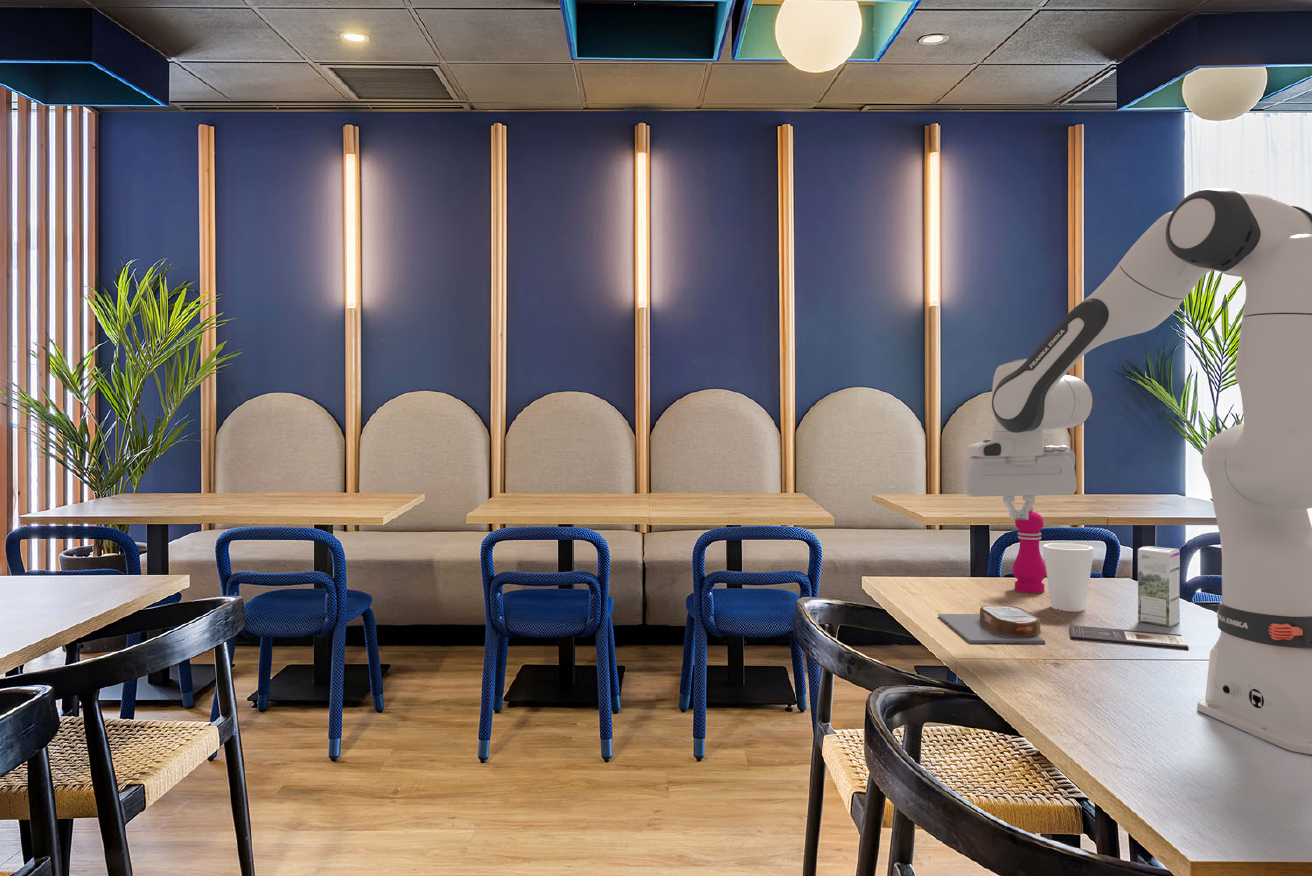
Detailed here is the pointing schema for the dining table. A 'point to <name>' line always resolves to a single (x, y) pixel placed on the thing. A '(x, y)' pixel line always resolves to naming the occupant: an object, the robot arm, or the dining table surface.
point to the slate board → (983, 630)
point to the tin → (1010, 620)
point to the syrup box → (1158, 585)
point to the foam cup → (1068, 574)
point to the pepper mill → (1029, 555)
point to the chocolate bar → (1128, 637)
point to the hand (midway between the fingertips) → (1019, 519)
